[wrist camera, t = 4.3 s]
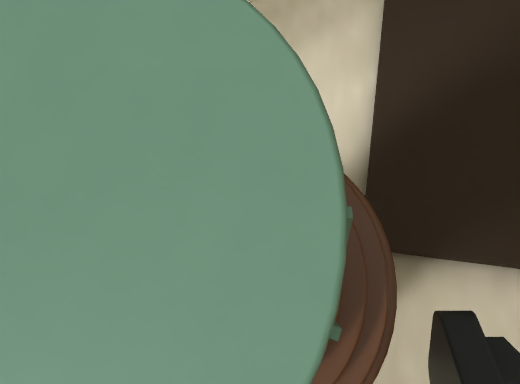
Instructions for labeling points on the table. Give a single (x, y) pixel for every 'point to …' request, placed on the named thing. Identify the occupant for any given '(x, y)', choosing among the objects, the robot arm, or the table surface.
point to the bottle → (362, 300)
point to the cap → (163, 197)
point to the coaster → (448, 130)
